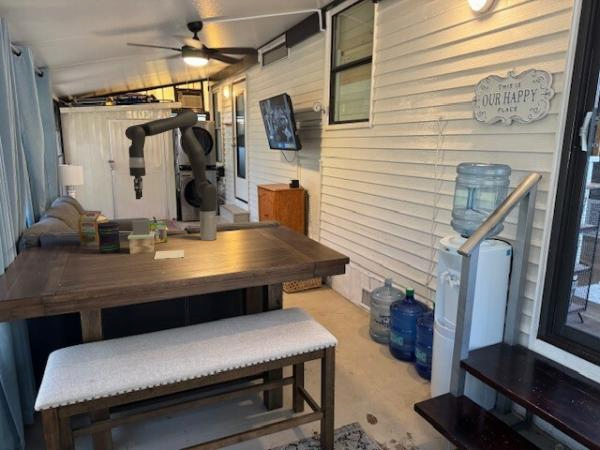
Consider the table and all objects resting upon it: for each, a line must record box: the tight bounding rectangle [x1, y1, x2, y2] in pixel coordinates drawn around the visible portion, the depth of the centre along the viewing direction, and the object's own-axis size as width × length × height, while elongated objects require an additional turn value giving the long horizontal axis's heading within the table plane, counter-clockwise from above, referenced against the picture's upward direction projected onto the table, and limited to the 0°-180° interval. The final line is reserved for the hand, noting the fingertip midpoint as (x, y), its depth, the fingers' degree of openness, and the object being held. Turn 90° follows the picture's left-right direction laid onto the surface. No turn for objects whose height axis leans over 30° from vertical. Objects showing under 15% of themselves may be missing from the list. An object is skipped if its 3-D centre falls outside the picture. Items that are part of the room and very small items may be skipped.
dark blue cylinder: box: [98, 221, 121, 255], centre depth 207 cm, size 10×10×15 cm
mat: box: [153, 249, 185, 260], centre depth 204 cm, size 14×14×1 cm
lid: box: [127, 219, 155, 240], centre depth 209 cm, size 12×12×9 cm
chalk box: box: [149, 216, 168, 244], centre depth 231 cm, size 9×9×15 cm
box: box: [128, 237, 155, 255], centre depth 210 cm, size 11×11×8 cm
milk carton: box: [77, 209, 109, 248], centre depth 222 cm, size 11×11×19 cm
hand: (139, 198), depth 206 cm, fingers open, 8 cm apart
